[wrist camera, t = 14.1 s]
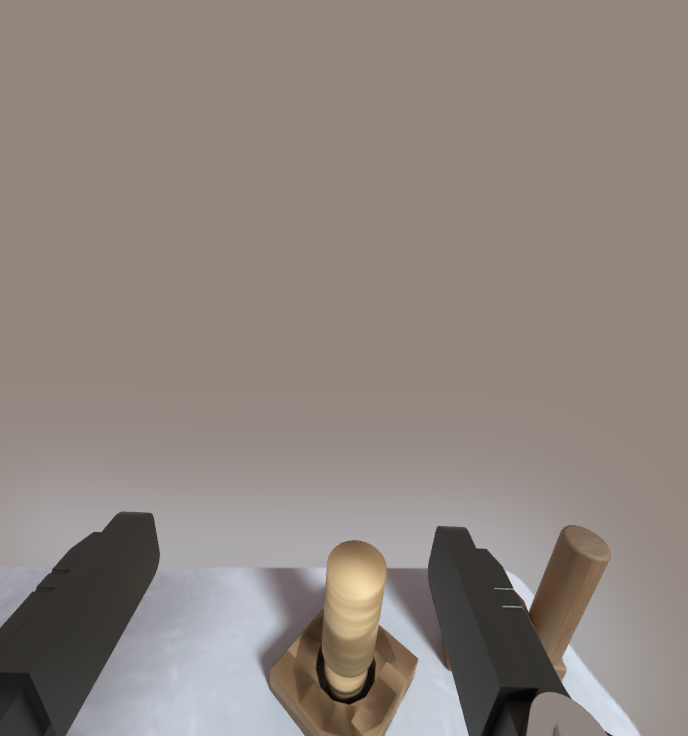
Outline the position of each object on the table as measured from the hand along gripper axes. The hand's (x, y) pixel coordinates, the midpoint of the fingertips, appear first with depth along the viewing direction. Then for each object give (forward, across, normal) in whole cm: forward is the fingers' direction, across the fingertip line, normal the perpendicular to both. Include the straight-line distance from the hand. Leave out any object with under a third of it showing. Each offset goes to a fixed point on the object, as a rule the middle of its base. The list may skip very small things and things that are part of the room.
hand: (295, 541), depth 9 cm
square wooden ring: (+12, -4, +32) cm, 34 cm away
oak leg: (+12, -4, +32) cm, 34 cm away
